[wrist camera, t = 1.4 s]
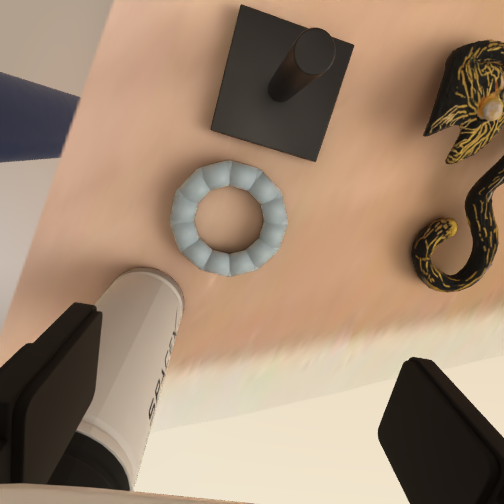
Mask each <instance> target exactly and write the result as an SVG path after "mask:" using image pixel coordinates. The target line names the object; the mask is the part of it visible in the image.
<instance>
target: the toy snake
mask: <svg viewBox="0 0 504 504" xmlns="http://www.w3.org/2000/svg"><path fill="white" fill-rule="evenodd" d="M453 125H459V126H460V129H461V131H460V134H459V137H458V139H457V140H456V142H455V144H454V146H453V147H452V149H451V151H450V153H449V154H448V156H447V158H446V160H445V161H446V163H447V164H454V163H458V162H459V161H461V159H465V158H467V157H469V156H472V155H474V154H475V153H477V152H478V151H479V149H481V148H483V147H484V146H485V145H486V144H488V143H489V142H490V141H491V139H492V138H493V137H494V136H495V135H496V134H497V133H498V132H499V131H500V130H501V129H502V126H503V125H504V43H502V42H501V41H494V40H484V41H478V42H475V43H471V44H467V45H465V46H462V47H460V48H457V49H456V50H454V51H453V52H452V54H451V55H450V56H449V57H448V59H447V61H446V64H445V71H444V75H443V78H442V81H441V84H440V88H439V91H438V94H437V97H436V100H435V104H434V107H433V110H432V113H431V116H430V120H429V122H428V124H427V127H426V129H425V131H424V134H423V136H430V135H432V134H434V133H437V132H439V131H441V130H443V129H446V128H448V127H451V126H453ZM503 183H504V156H503V157H502V158H501V159H500V160H499V161H498V162H497V163H496V164H495V165H494V166H493V167H492V168H491V169H490V170H489V171H487V172H486V173H485V174H484V175H483V176H482V177H481V178H480V179H479V180H478V181H477V182H476V183H475V184H474V186H473V187H472V188H471V190H470V191H469V193H468V195H467V197H466V200H465V211H466V217H467V220H468V225H469V226H470V229H471V234H472V237H473V247H472V252H471V255H470V257H469V259H468V261H467V263H466V265H465V266H464V267H463V269H462V270H460V271H459V272H458V273H457V274H455V275H447V274H445V273H443V272H442V271H440V270H439V269H438V268H436V267H435V266H434V265H433V263H432V261H431V255H432V253H433V251H434V250H435V248H436V247H437V246H438V245H439V244H440V243H442V242H444V241H445V240H447V239H448V238H450V237H452V236H453V235H455V233H456V232H457V230H458V227H457V223H456V221H455V220H454V219H452V218H439V219H437V220H435V221H434V222H432V223H430V224H429V225H427V226H426V227H425V228H424V229H422V230H421V231H420V232H419V234H418V236H417V238H416V240H415V241H414V243H413V247H412V261H413V265H414V267H415V270H416V272H417V274H418V276H419V278H420V279H421V280H422V281H423V282H424V283H425V284H426V285H427V286H428V287H429V288H431V289H434V290H436V291H440V292H453V291H460V290H463V289H465V288H468V287H470V286H472V285H473V284H475V283H476V282H478V281H479V280H480V279H481V278H482V276H483V275H484V274H485V273H486V271H487V270H488V269H489V267H490V266H491V265H492V262H493V259H494V256H495V254H496V251H497V247H498V227H497V224H496V221H495V217H494V214H493V209H492V195H493V192H494V190H495V189H496V188H497V187H498V186H500V185H501V184H503Z"/></svg>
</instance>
